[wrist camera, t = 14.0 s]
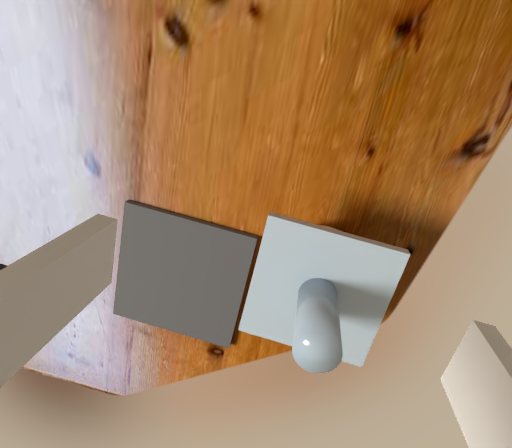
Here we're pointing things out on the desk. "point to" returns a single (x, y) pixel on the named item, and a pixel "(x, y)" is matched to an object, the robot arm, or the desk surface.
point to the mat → (182, 273)
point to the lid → (320, 291)
